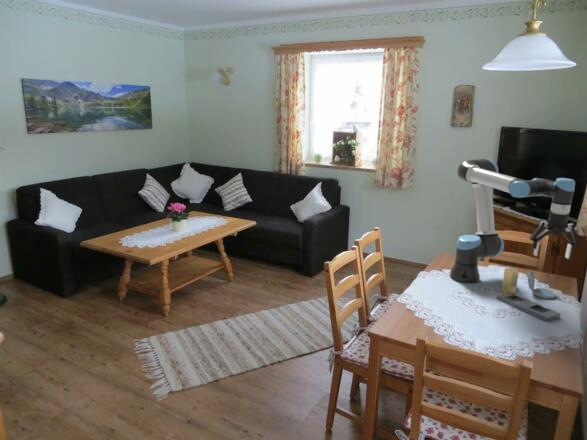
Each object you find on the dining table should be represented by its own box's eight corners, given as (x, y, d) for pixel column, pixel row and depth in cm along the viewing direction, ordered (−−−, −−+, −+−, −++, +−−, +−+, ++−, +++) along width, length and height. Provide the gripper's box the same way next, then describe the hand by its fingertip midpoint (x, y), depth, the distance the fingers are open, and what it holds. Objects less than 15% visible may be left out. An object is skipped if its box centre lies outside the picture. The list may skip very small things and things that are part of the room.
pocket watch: (532, 268, 219) (566, 275, 210) (529, 288, 222) (562, 296, 212) (527, 273, 212) (561, 281, 203) (523, 293, 215) (557, 302, 205)
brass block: (501, 290, 218) (504, 268, 215) (507, 289, 220) (510, 267, 217) (509, 294, 214) (512, 271, 211) (515, 292, 216) (518, 270, 213)
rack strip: (496, 298, 209) (496, 294, 208) (508, 295, 213) (509, 291, 212) (546, 321, 186) (547, 317, 186) (559, 317, 190) (560, 313, 189)
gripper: (532, 212, 192) (524, 256, 198) (594, 216, 188) (584, 261, 193) (527, 208, 200) (519, 251, 205) (586, 212, 195) (577, 256, 200)
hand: (550, 256), depth 199 cm, fingers open, 13 cm apart
